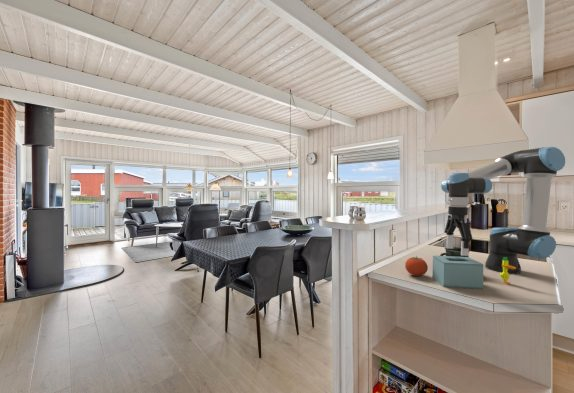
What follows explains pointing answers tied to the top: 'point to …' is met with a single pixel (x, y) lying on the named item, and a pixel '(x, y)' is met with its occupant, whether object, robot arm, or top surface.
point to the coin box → (458, 272)
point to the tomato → (416, 266)
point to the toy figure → (505, 268)
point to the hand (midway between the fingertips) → (456, 251)
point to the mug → (453, 252)
